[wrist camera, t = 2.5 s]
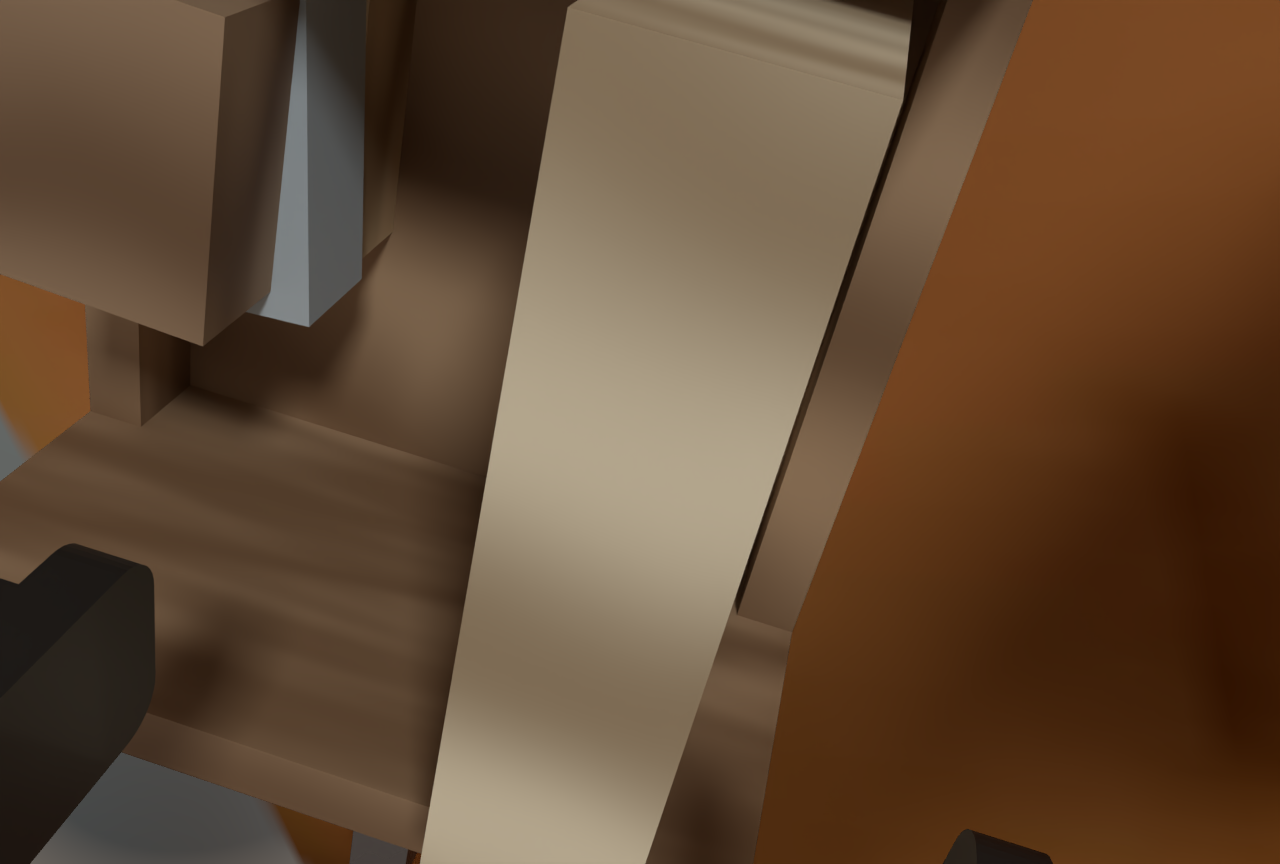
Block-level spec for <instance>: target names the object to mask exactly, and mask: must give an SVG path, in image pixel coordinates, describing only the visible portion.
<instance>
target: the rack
mask: <svg viewBox="0 0 1280 864" xmlns="http://www.w3.org/2000/svg"><path fill="white" fill-rule="evenodd" d="M576 1H577V0H417V4H416V13H415V23H414V32H413V42H412V51H411V61H410V71H409V80H408V90H407V99H406V109H405V119H404V128H403V138H402V147H401V157H400V167H399V176H398V186H397V195H396V205H395V214H394V224H393V232H392V233H391V234H390V235H388V236H387V237H386V238H385V239H384V240H383V241H382V242H381V243H379V244H378V245H377V246H376V247H375V248H374V249H373V250H371V251H370V252H369V253H368V254H367V255H366V256H365V257H363V258H362V279H361V280H360V281H359V282H358V283H357V284H356V285H355V286H353V287H352V288H351V289H350V290H349V291H348V292H347V293H346V294H345V295H344V296H343V297H341V298H340V299H339V300H338V301H337V302H336V303H335V304H334V305H333V306H332V307H330V308H329V309H328V310H327V311H326V312H325V313H324V314H323V315H322V316H321V317H320V318H318V319H317V320H316V321H315V322H314V323H313V324H312V325H311V326H310V327H307V326H303V325H298V324H294V323H290V322H286V321H282V320H277V319H273V318H269V317H265V316H261V315H257V314H252V313H248V312H245V313H244V314H242V315H241V316H240V317H239V318H237V319H236V320H235V321H234V322H232V323H231V324H230V325H229V326H227V327H226V328H225V329H224V330H223V331H221V332H220V333H219V334H218V335H216V336H215V337H214V338H213V339H211V340H210V341H209V342H208V343H206V344H205V345H204V346H200V345H198V344H195V343H192V342H189V341H186V340H184V339H181V338H178V337H175V336H172V335H170V334H167V333H164V332H161V331H158V330H156V329H153V328H150V327H147V326H144V325H142V324H139V323H136V322H133V321H130V320H128V319H125V318H122V317H119V316H116V315H114V314H111V313H108V312H105V311H102V310H100V309H97V308H94V307H91V306H88V305H86V304H85V312H86V332H87V351H88V370H89V389H90V409H91V411H90V412H89V413H88V414H86V415H85V416H84V417H82V418H81V419H80V420H79V421H77V422H76V423H75V424H73V425H72V426H71V427H70V428H68V429H67V430H66V431H64V432H63V433H62V434H61V435H59V436H58V437H57V438H55V439H54V440H53V441H52V442H50V443H49V444H48V445H46V446H45V447H44V448H43V449H41V450H40V451H39V452H37V453H36V454H35V455H34V456H32V457H31V458H30V459H28V460H27V461H26V462H25V463H23V464H22V465H21V466H19V467H18V468H17V469H16V470H14V471H13V472H12V473H10V474H9V475H8V476H7V477H5V478H4V479H3V480H2V481H0V578H1V579H4V580H7V581H11V582H14V583H17V584H19V583H20V582H21V581H23V580H24V579H25V578H26V577H27V576H28V575H29V574H30V573H31V572H33V571H34V570H35V569H36V568H37V567H38V566H39V565H40V564H41V563H43V562H44V561H45V560H46V559H47V558H48V557H49V556H50V555H51V554H53V553H54V552H55V551H56V550H58V549H59V548H61V547H62V546H64V545H67V544H70V543H76V544H79V545H82V546H85V547H88V548H92V549H95V550H98V551H101V552H104V553H107V554H111V555H114V556H117V557H120V558H123V559H126V560H130V561H133V562H136V563H139V564H142V565H145V566H147V567H149V568H150V570H151V572H152V574H153V578H154V603H155V670H156V676H155V686H154V691H153V695H152V699H151V702H150V705H149V707H148V710H147V712H146V715H145V717H144V719H143V721H142V723H141V725H140V727H139V728H138V730H137V732H136V733H135V735H134V736H133V738H132V739H131V741H130V742H129V743H128V744H127V746H126V747H125V748H124V749H123V751H122V753H126V754H128V755H131V756H134V757H137V758H140V759H143V760H146V761H149V762H152V763H155V764H158V765H161V766H164V767H167V768H170V769H173V770H175V771H178V772H181V773H185V774H187V775H190V776H193V777H196V778H199V779H202V780H205V781H208V782H211V783H214V784H217V785H220V786H223V787H226V788H229V789H232V790H235V791H237V792H240V793H244V794H246V795H250V796H252V797H255V798H258V799H261V800H264V801H267V802H270V803H273V804H276V805H279V806H282V807H285V808H288V809H291V810H294V811H297V812H300V813H302V814H305V815H308V816H311V817H314V818H317V819H320V820H323V821H326V822H329V823H332V824H335V825H338V826H341V827H344V828H347V829H350V830H353V831H356V832H359V833H362V834H364V835H367V836H370V837H373V838H376V839H379V840H382V841H385V842H388V843H391V844H394V845H397V846H400V847H403V848H406V849H409V850H412V851H415V852H418V853H421V854H422V849H423V843H424V837H425V831H426V825H427V820H428V814H429V808H430V802H431V797H432V791H433V785H434V779H435V773H436V768H437V762H438V756H439V750H440V744H441V739H442V733H443V727H444V721H445V715H446V710H447V704H448V698H449V692H450V686H451V681H452V675H453V669H454V663H455V657H456V652H457V646H458V640H459V634H460V628H461V623H462V617H463V611H464V605H465V599H466V594H467V588H468V582H469V576H470V571H471V565H472V559H473V553H474V547H475V542H476V536H477V530H478V524H479V518H480V513H481V507H482V501H483V495H484V489H485V484H486V478H487V472H488V466H489V460H490V455H491V449H492V443H493V437H494V431H495V426H496V420H497V414H498V408H499V402H500V397H501V391H502V385H503V379H504V373H505V368H506V362H507V356H508V350H509V345H510V339H511V333H512V327H513V321H514V316H515V310H516V304H517V298H518V292H519V287H520V281H521V275H522V269H523V263H524V258H525V252H526V246H527V240H528V234H529V229H530V223H531V217H532V211H533V205H534V200H535V194H536V188H537V182H538V176H539V171H540V165H541V159H542V153H543V148H544V142H545V136H546V130H547V124H548V119H549V113H550V107H551V101H552V95H553V90H554V84H555V78H556V72H557V66H558V61H559V55H560V49H561V43H562V37H563V32H564V26H565V20H566V14H567V8H568V7H569V6H570V5H571V4H573V3H574V2H576ZM1032 1H1033V0H914V3H913V12H912V22H911V31H910V41H909V50H908V60H907V69H906V79H905V88H904V98H903V102H902V105H901V108H900V111H899V114H898V117H897V120H896V123H895V126H894V129H893V132H892V135H891V138H890V141H889V144H888V147H887V150H886V153H885V156H884V159H883V162H882V164H881V167H880V170H879V173H878V176H877V179H876V182H875V185H874V188H873V191H872V194H871V197H870V200H869V203H868V206H867V209H866V212H865V215H864V218H863V221H862V224H861V227H860V230H859V233H858V236H857V238H856V241H855V244H854V247H853V250H852V253H851V256H850V259H849V262H848V265H847V268H846V271H845V274H844V277H843V280H842V283H841V286H840V289H839V292H838V295H837V298H836V301H835V304H834V307H833V310H832V312H831V315H830V318H829V321H828V324H827V327H826V330H825V333H824V336H823V339H822V342H821V345H820V348H819V351H818V354H817V357H816V360H815V363H814V366H813V369H812V372H811V375H810V378H809V381H808V384H807V386H806V389H805V392H804V395H803V398H802V401H801V404H800V407H799V410H798V413H797V416H796V419H795V422H794V425H793V428H792V431H791V434H790V437H789V440H788V443H787V446H786V449H785V452H784V455H783V457H782V460H781V463H780V466H779V469H778V472H777V475H776V478H775V481H774V484H773V487H772V490H771V493H770V496H769V499H768V502H767V505H766V508H765V511H764V514H763V517H762V520H761V523H760V526H759V529H758V531H757V534H756V537H755V540H754V543H753V546H752V549H751V552H750V555H749V558H748V561H747V564H746V567H745V570H744V573H743V576H742V579H741V582H740V585H739V588H738V591H737V594H736V597H735V600H734V603H733V605H732V608H731V611H730V614H729V617H728V620H727V623H726V626H725V629H724V632H723V635H722V638H721V641H720V644H719V647H718V650H717V653H716V656H715V659H714V662H713V665H712V668H711V671H710V674H709V677H708V679H707V682H706V685H705V688H704V691H703V694H702V697H701V700H700V703H699V706H698V709H697V712H696V715H695V718H694V721H693V724H692V727H691V730H690V733H689V736H688V739H687V742H686V745H685V748H684V750H683V753H682V756H681V759H680V762H679V765H678V768H677V771H676V774H675V777H674V780H673V783H672V786H671V789H670V792H669V795H668V798H667V801H666V804H665V807H664V810H663V813H662V816H661V819H660V822H659V824H658V827H657V830H656V833H655V836H654V839H653V842H652V845H651V848H650V851H649V854H648V857H647V860H646V863H645V864H753V861H754V855H755V849H756V843H757V837H758V832H759V826H760V820H761V814H762V808H763V802H764V796H765V790H766V784H767V778H768V772H769V766H770V760H771V754H772V748H773V742H774V736H775V730H776V724H777V718H778V713H779V707H780V701H781V695H782V689H783V683H784V677H785V671H786V665H787V659H788V653H789V647H790V641H791V635H792V631H793V628H794V626H795V623H796V620H797V618H798V615H799V613H800V610H801V607H802V605H803V602H804V599H805V597H806V594H807V592H808V589H809V586H810V584H811V581H812V578H813V576H814V573H815V571H816V568H817V565H818V563H819V560H820V557H821V555H822V552H823V550H824V547H825V544H826V542H827V539H828V536H829V534H830V531H831V529H832V526H833V523H834V521H835V518H836V515H837V513H838V510H839V508H840V505H841V502H842V500H843V497H844V494H845V492H846V489H847V487H848V484H849V481H850V479H851V476H852V473H853V471H854V468H855V466H856V463H857V460H858V458H859V455H860V452H861V450H862V447H863V445H864V442H865V439H866V437H867V434H868V431H869V429H870V426H871V424H872V421H873V418H874V416H875V413H876V410H877V408H878V405H879V403H880V400H881V397H882V395H883V392H884V389H885V387H886V384H887V382H888V379H889V376H890V374H891V371H892V368H893V366H894V363H895V361H896V358H897V355H898V353H899V350H900V347H901V345H902V342H903V340H904V337H905V334H906V332H907V329H908V326H909V324H910V321H911V319H912V316H913V313H914V311H915V308H916V305H917V303H918V300H919V298H920V295H921V292H922V290H923V287H924V284H925V282H926V279H927V277H928V274H929V271H930V269H931V266H932V263H933V261H934V258H935V256H936V253H937V250H938V248H939V245H940V242H941V240H942V237H943V235H944V232H945V229H946V227H947V224H948V221H949V219H950V216H951V214H952V211H953V208H954V206H955V203H956V200H957V198H958V195H959V192H960V190H961V187H962V185H963V182H964V179H965V177H966V174H967V171H968V169H969V166H970V164H971V161H972V158H973V156H974V153H975V150H976V148H977V145H978V143H979V140H980V137H981V135H982V132H983V129H984V127H985V124H986V122H987V119H988V116H989V114H990V111H991V108H992V106H993V103H994V101H995V98H996V95H997V93H998V90H999V87H1000V85H1001V82H1002V80H1003V77H1004V74H1005V72H1006V69H1007V66H1008V64H1009V61H1010V59H1011V56H1012V53H1013V51H1014V48H1015V45H1016V43H1017V40H1018V38H1019V35H1020V32H1021V30H1022V27H1023V24H1024V22H1025V19H1026V17H1027V14H1028V11H1029V9H1030V6H1031V3H1032Z"/></svg>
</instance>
